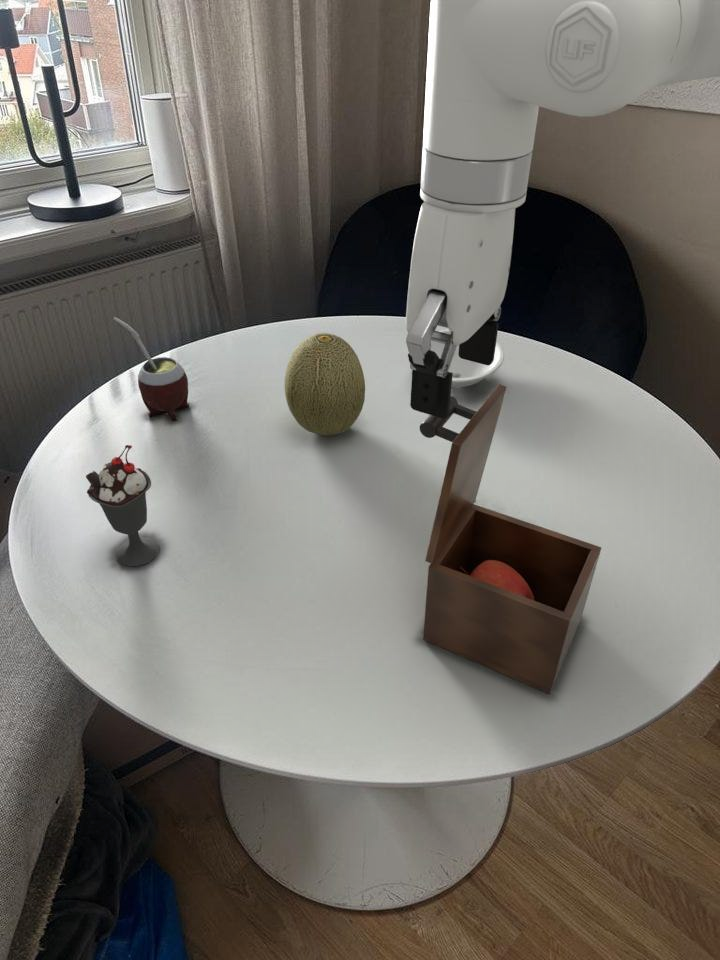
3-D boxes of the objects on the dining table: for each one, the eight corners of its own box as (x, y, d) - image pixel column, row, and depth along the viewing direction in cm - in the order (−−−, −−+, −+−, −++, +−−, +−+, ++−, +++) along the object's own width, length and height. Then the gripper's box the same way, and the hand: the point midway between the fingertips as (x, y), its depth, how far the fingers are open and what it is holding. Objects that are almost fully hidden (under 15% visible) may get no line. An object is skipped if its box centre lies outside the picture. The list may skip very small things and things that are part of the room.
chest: (580, 620, 75) (601, 547, 69) (549, 694, 68) (570, 621, 61) (462, 575, 81) (471, 503, 74) (422, 639, 73) (428, 566, 67)
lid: (507, 386, 64) (459, 368, 65) (460, 446, 57) (408, 424, 58) (475, 501, 73) (434, 483, 75) (432, 564, 66) (387, 543, 68)
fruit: (311, 460, 98) (305, 364, 89) (275, 422, 105) (266, 330, 96) (379, 435, 103) (381, 342, 93) (340, 400, 110) (338, 311, 101)
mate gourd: (198, 416, 107) (182, 325, 97) (146, 430, 104) (124, 338, 95) (184, 393, 112) (167, 305, 103) (134, 406, 109) (112, 316, 100)
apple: (522, 636, 75) (453, 605, 77) (547, 573, 73) (476, 544, 76) (508, 655, 68) (433, 620, 71) (535, 586, 67) (458, 553, 69)
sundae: (178, 545, 85) (155, 443, 75) (137, 579, 80) (107, 476, 71) (139, 525, 88) (112, 425, 78) (97, 558, 83) (63, 455, 74)
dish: (488, 416, 106) (492, 388, 103) (397, 400, 110) (398, 372, 107) (509, 362, 119) (512, 335, 116) (426, 349, 123) (428, 322, 120)
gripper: (472, 141, 57) (453, 334, 68) (368, 200, 45) (366, 422, 56) (563, 154, 54) (529, 353, 65) (477, 220, 42) (453, 450, 53)
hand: (453, 385), depth 60 cm, fingers open, 9 cm apart
